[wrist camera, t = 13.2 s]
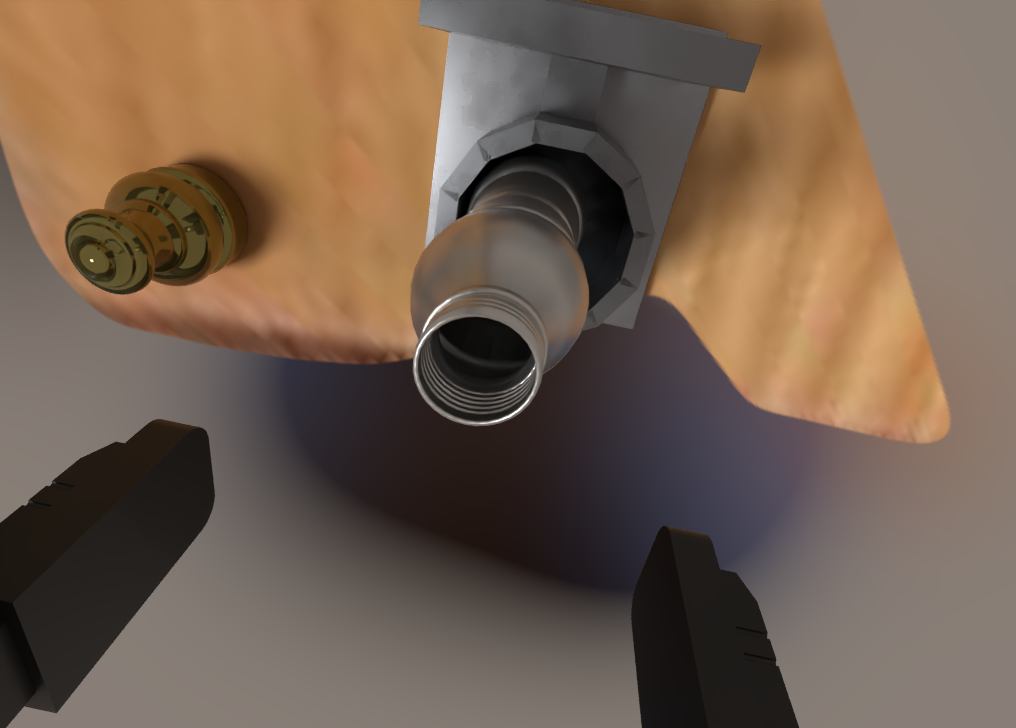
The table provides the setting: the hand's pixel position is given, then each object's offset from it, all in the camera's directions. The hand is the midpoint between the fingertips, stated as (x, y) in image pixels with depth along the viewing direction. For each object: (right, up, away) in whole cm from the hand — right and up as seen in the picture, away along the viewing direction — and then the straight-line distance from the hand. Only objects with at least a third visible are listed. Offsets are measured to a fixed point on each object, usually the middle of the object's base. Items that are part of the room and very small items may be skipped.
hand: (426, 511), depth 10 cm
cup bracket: (+4, +15, +26) cm, 30 cm away
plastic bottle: (+3, +12, +23) cm, 26 cm away
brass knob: (-20, +13, +30) cm, 39 cm away
